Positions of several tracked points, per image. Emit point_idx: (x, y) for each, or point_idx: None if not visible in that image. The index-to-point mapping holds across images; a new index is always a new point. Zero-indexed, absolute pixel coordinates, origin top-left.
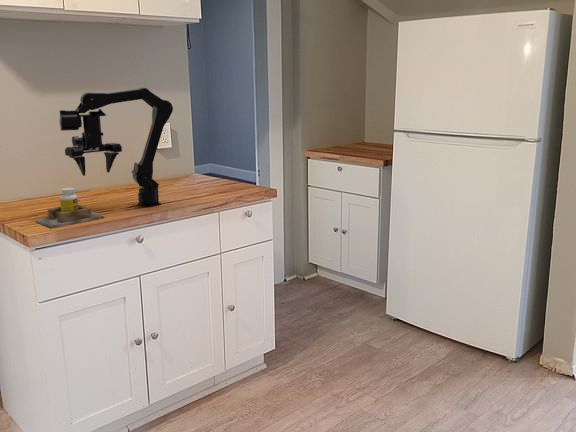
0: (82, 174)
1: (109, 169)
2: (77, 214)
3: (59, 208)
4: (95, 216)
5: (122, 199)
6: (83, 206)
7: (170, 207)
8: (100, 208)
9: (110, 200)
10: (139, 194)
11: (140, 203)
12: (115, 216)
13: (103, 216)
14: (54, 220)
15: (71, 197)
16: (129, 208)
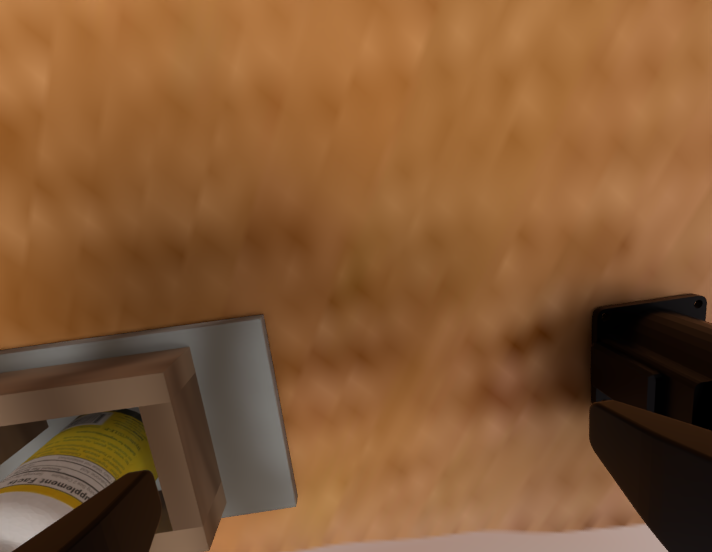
0: (116, 490)
1: (647, 503)
2: None
3: (27, 421)
4: (253, 495)
5: (610, 79)
6: (187, 471)
7: None
8: (370, 262)
9: (532, 51)
10: (643, 390)
11: (593, 365)
12: (360, 494)
13: (294, 503)
14: (25, 456)
15: None
16: (504, 370)
